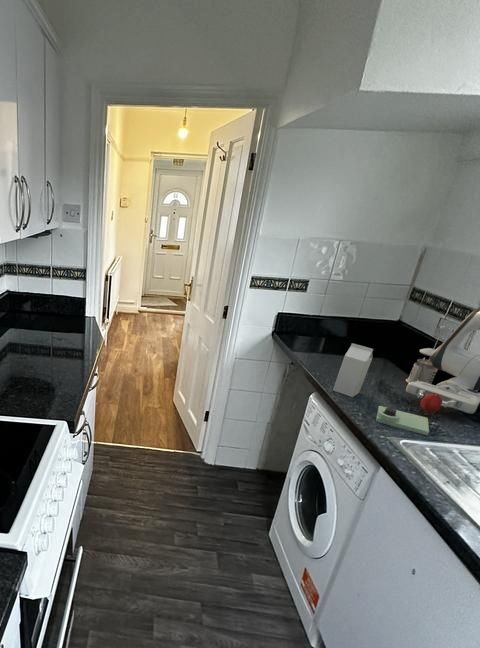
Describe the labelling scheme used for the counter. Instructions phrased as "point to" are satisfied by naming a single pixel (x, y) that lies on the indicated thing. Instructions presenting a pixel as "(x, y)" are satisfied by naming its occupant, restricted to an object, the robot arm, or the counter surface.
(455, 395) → the robot arm
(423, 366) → the french press
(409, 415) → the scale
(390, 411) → the tare button
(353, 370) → the milk carton
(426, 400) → the onion
